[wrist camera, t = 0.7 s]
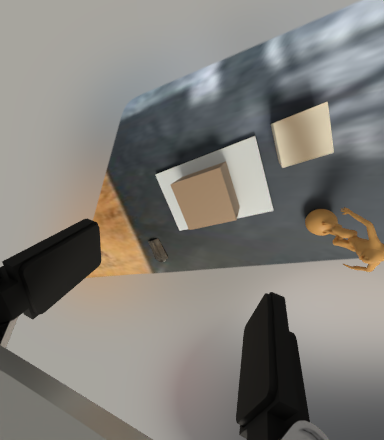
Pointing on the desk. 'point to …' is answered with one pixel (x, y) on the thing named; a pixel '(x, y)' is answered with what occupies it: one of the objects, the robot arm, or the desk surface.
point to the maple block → (303, 136)
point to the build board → (239, 173)
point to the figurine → (348, 236)
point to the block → (158, 250)
